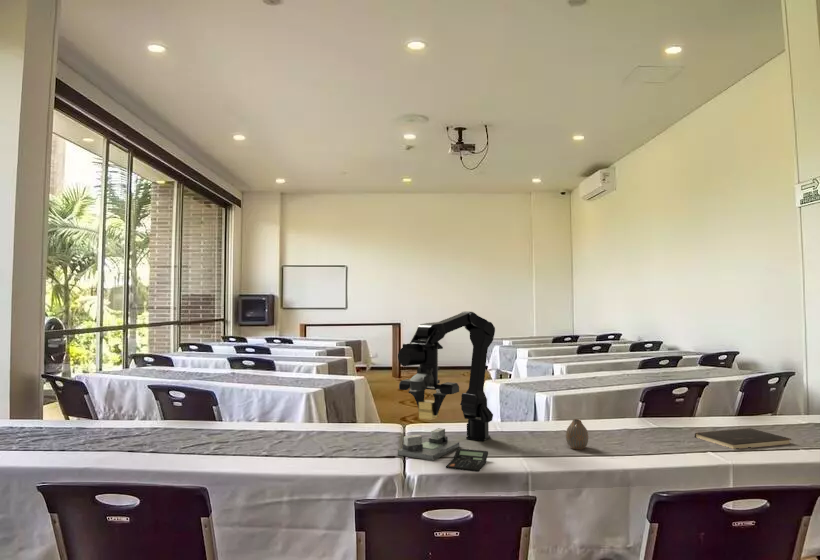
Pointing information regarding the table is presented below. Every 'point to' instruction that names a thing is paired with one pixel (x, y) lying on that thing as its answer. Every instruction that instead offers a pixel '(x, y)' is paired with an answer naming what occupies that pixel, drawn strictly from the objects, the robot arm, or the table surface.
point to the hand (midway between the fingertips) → (428, 414)
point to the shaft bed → (427, 445)
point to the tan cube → (427, 410)
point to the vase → (577, 435)
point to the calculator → (468, 460)
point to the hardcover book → (742, 438)
